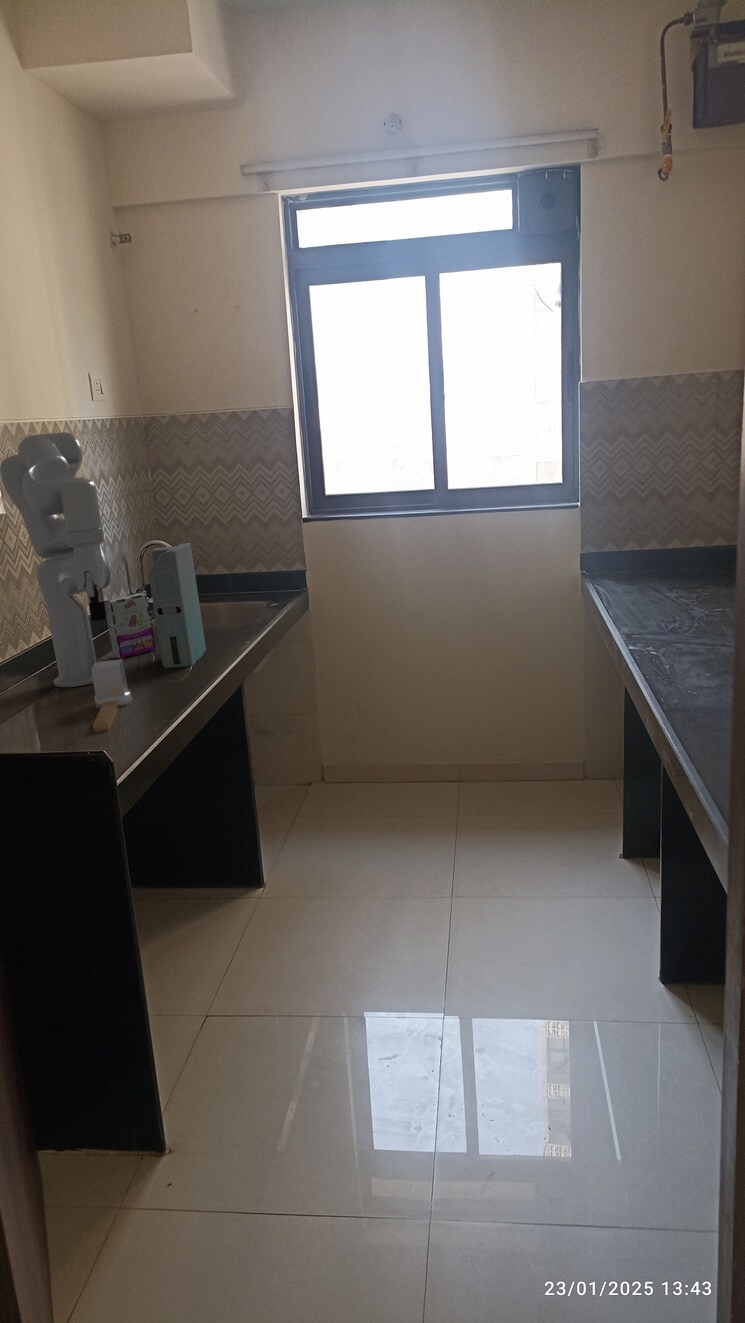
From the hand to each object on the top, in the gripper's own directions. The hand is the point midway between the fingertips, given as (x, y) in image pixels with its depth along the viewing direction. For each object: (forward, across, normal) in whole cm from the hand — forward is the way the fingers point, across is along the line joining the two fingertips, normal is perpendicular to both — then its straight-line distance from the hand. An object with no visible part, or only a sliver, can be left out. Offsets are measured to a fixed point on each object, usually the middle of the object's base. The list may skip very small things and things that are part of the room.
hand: (99, 619), depth 207 cm
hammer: (+19, +9, 0) cm, 22 cm away
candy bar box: (+21, -51, 0) cm, 55 cm away
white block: (+17, +1, 0) cm, 17 cm away
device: (+21, -36, +14) cm, 44 cm away
